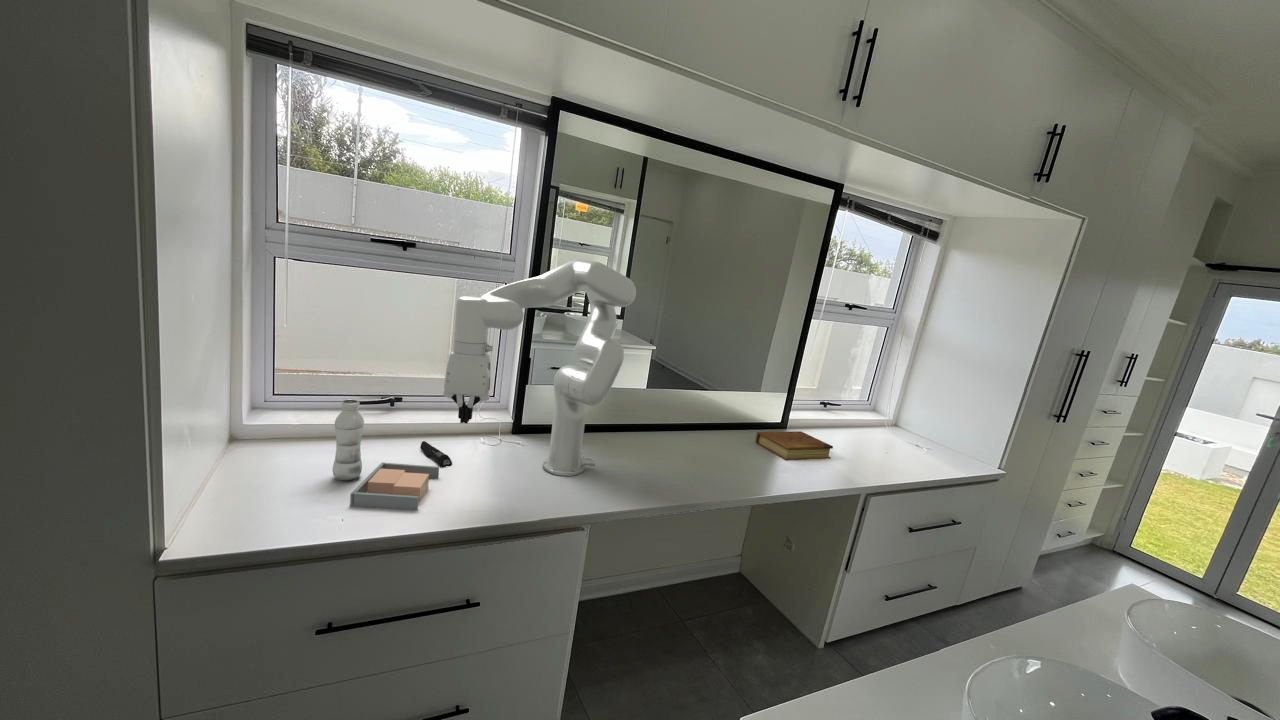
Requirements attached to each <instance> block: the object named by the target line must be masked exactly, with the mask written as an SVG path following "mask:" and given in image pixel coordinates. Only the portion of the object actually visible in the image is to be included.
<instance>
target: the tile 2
mask: <svg viewBox="0 0 1280 720" xmlns="http://www.w3.org/2000/svg"><path fill="white" fill-rule="evenodd" d="M429 481H430V478H429V474H422V473H406V472H404V473H403V474H402V476H401V477H400V478H399V479H398V481H397V482H396V483H395V485H394V486H393V495H407V496H419V500H418V503H420V502H421V500H422V499H423V497H424V496H425V494H426V493H427V490H428V489H429V483H430V482H429Z"/></svg>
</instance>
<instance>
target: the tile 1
mask: <svg viewBox="0 0 1280 720" xmlns="http://www.w3.org/2000/svg"><path fill="white" fill-rule="evenodd" d="M405 471H406V470H396V469H379V470H378V471H377V473H376V474H375V475H374V476H373V477H372V478H371V479H370V480H369V481H368V490H367V493H376V494H391V495H393V486H394V485H395V483H396V482H397V481H398V479H399V478H400V477H401V476H402V474H403V473H404V472H405Z"/></svg>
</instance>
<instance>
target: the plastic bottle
mask: <svg viewBox="0 0 1280 720" xmlns="http://www.w3.org/2000/svg"><path fill="white" fill-rule="evenodd" d="M359 403H360V401H359V400H356V399H344V400H342V402H341V407H340V409H341V412H340V413H339V414H338V415H337V416H336V418H335V420H334V431H335V440H336V441H335V443H336V444H335V445H336V446H335V448H336V450H335V456H334V461H333V464H332V475H333V476H334V479H336V480H339V481H351V480H354V479H357V478H358V477H359V476H360V475H361V474H362V470H363V462H362V457H361V456H362V455H361V454H362V451H361V444H362V443H361V442H362V435H363V432H364V427H365V426H364V425H365V420H364V417H363V416H362V414H361V413H360V411H359V410H360V406H359V405H360V404H359Z"/></svg>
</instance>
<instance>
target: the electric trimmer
mask: <svg viewBox="0 0 1280 720" xmlns="http://www.w3.org/2000/svg"><path fill="white" fill-rule="evenodd" d="M419 447H420V450H421V451H422V452H423V454H424V455H425V456H426V457H427V458H432V459H433V460H434V461H435V462H436V463H437V464H438V467H439V466H440V467H439V468H442V467H443V468H447V467H446V466H449V467H451V465H452V466H453V461H452V459H451V457H449V455H448V454H445V453H444V452H443V451H442V450H440V449H438V448H436V447H435V446H433V445H432V444H430V443H428V442H427V441H425V440H424V441H421V443H420V446H419Z"/></svg>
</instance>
